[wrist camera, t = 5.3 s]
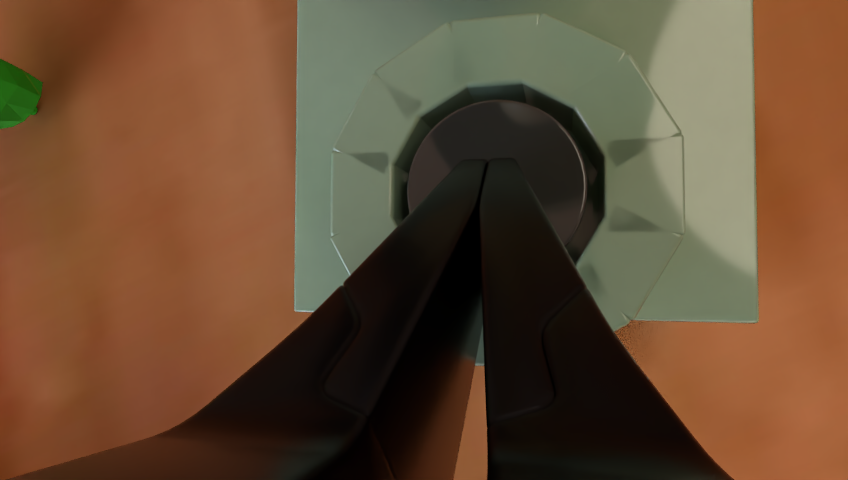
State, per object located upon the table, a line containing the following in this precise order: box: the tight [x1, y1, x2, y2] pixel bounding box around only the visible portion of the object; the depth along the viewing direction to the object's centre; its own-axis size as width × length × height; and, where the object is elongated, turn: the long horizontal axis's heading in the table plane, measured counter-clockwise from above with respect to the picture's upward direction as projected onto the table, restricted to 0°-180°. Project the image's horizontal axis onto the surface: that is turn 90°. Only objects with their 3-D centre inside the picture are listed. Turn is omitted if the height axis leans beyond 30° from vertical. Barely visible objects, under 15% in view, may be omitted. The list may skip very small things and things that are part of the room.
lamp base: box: [294, 0, 759, 366], centre depth 13 cm, size 12×9×7 cm
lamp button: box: [407, 99, 588, 248], centre depth 10 cm, size 3×3×2 cm
